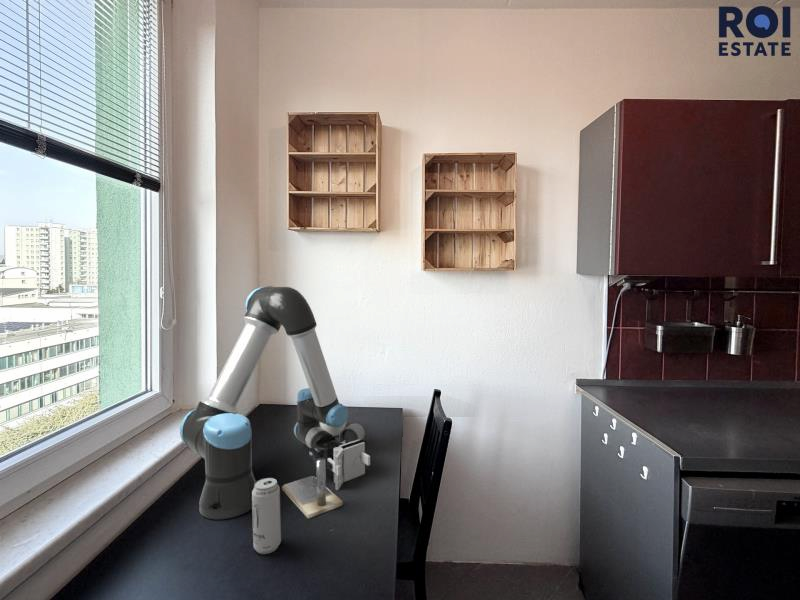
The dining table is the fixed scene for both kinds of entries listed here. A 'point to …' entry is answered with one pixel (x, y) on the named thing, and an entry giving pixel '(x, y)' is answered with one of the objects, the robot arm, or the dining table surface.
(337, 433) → the lidded jar
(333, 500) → the mounting board
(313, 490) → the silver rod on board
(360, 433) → the ceramic mug
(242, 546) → the dining table surface
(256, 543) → the energy drink can
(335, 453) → the hinge
